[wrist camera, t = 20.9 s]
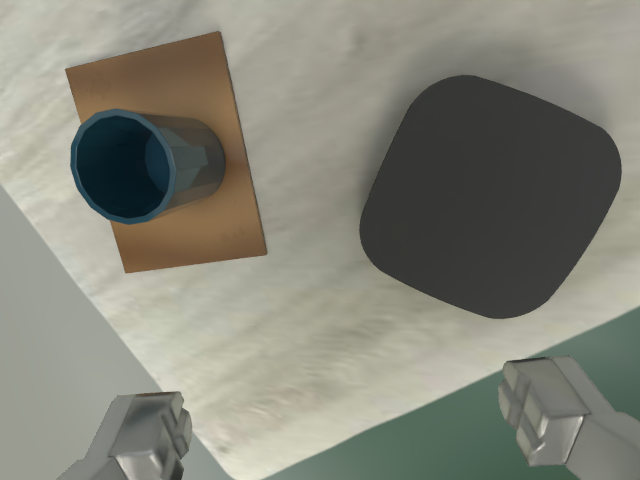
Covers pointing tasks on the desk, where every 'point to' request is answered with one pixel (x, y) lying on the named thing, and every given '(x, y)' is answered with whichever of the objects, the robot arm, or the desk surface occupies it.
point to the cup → (145, 164)
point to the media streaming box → (488, 196)
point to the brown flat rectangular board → (191, 101)
